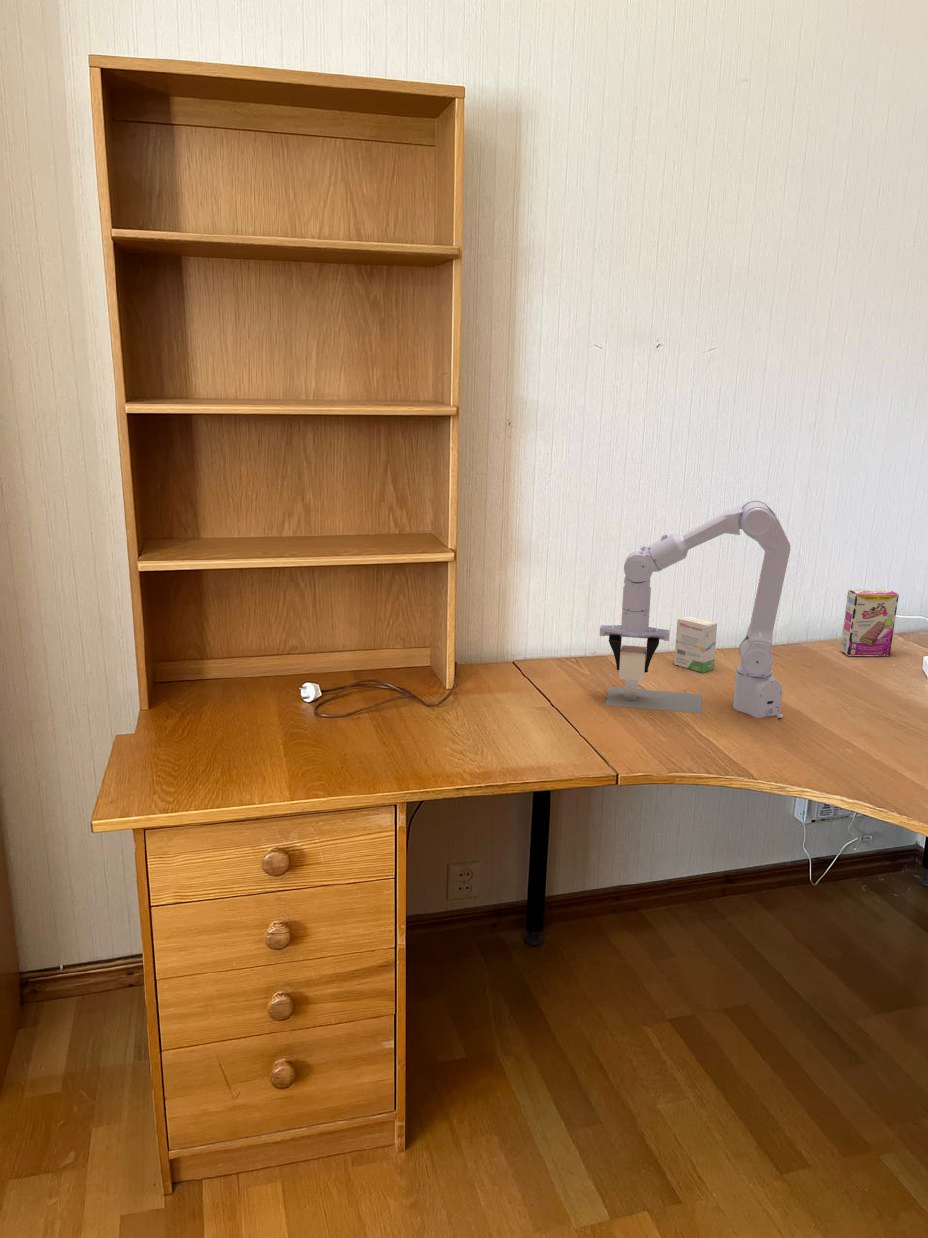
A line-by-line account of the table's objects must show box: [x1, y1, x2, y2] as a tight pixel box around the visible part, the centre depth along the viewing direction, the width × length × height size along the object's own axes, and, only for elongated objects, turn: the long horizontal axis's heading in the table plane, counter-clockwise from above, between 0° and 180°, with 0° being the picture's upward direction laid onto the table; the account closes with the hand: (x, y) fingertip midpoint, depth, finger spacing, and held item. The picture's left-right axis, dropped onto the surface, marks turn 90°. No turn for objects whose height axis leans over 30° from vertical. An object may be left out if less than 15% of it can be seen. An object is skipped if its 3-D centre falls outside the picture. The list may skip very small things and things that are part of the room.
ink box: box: [674, 615, 718, 674], centre depth 232 cm, size 8×5×12 cm, turn 40°
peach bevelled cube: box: [618, 644, 647, 682], centre depth 207 cm, size 5×5×6 cm
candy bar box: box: [840, 589, 900, 656], centre depth 243 cm, size 11×5×16 cm, turn 94°
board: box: [605, 686, 703, 714], centre depth 208 cm, size 20×12×1 cm, turn 77°
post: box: [624, 679, 639, 700], centre depth 208 cm, size 3×3×6 cm
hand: (632, 670), depth 207 cm, fingers closed on peach bevelled cube, 5 cm apart
